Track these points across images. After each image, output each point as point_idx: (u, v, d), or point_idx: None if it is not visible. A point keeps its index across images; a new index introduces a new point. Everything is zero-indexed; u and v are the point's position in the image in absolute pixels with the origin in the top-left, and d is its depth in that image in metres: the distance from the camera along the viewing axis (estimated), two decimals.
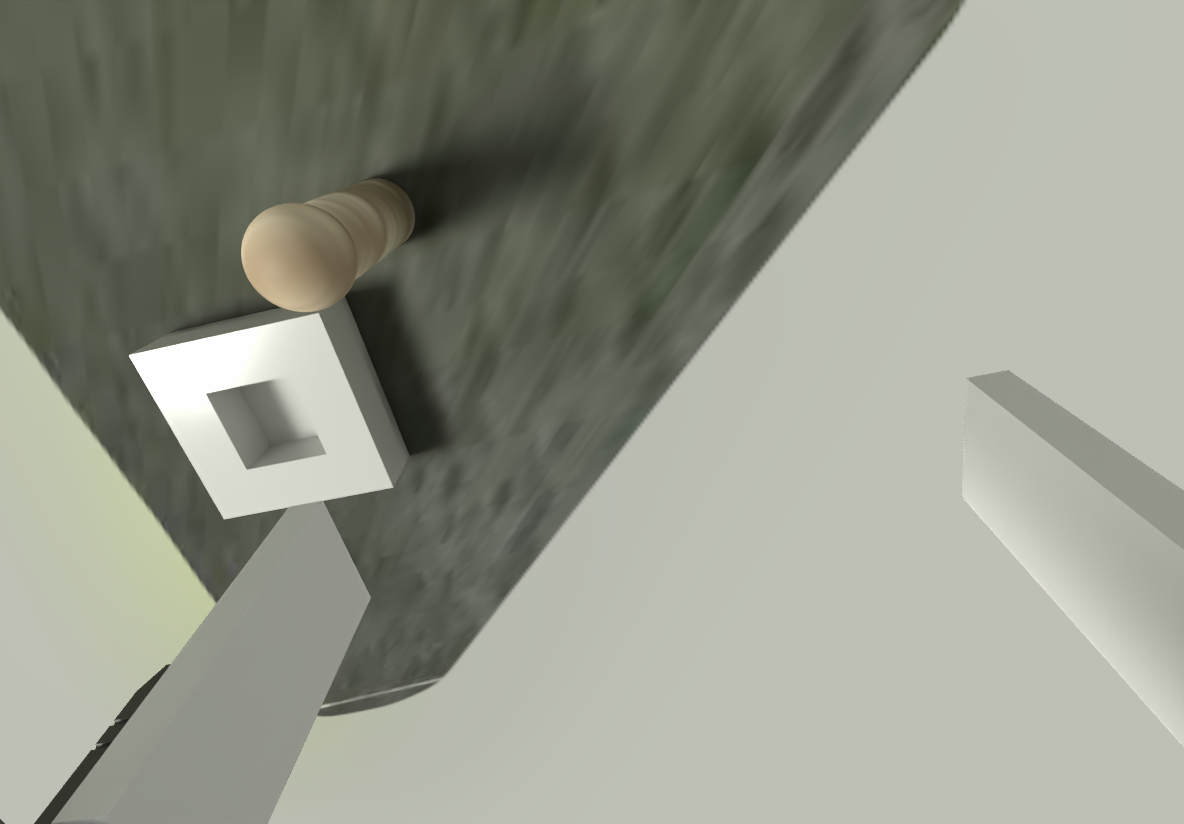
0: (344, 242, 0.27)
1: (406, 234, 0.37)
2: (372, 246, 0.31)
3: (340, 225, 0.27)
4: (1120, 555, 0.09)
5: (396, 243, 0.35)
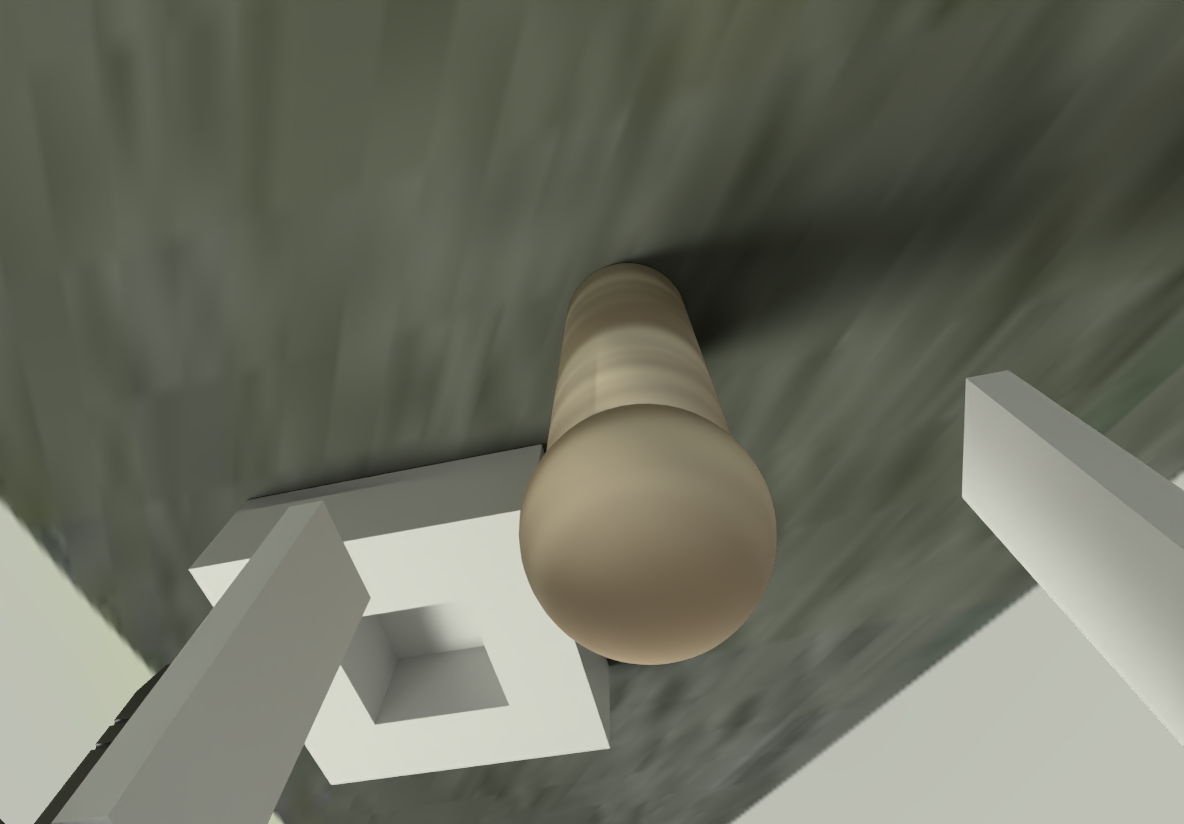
0: (773, 508, 0.11)
1: None
2: None
3: (751, 459, 0.11)
4: (1120, 555, 0.09)
5: None
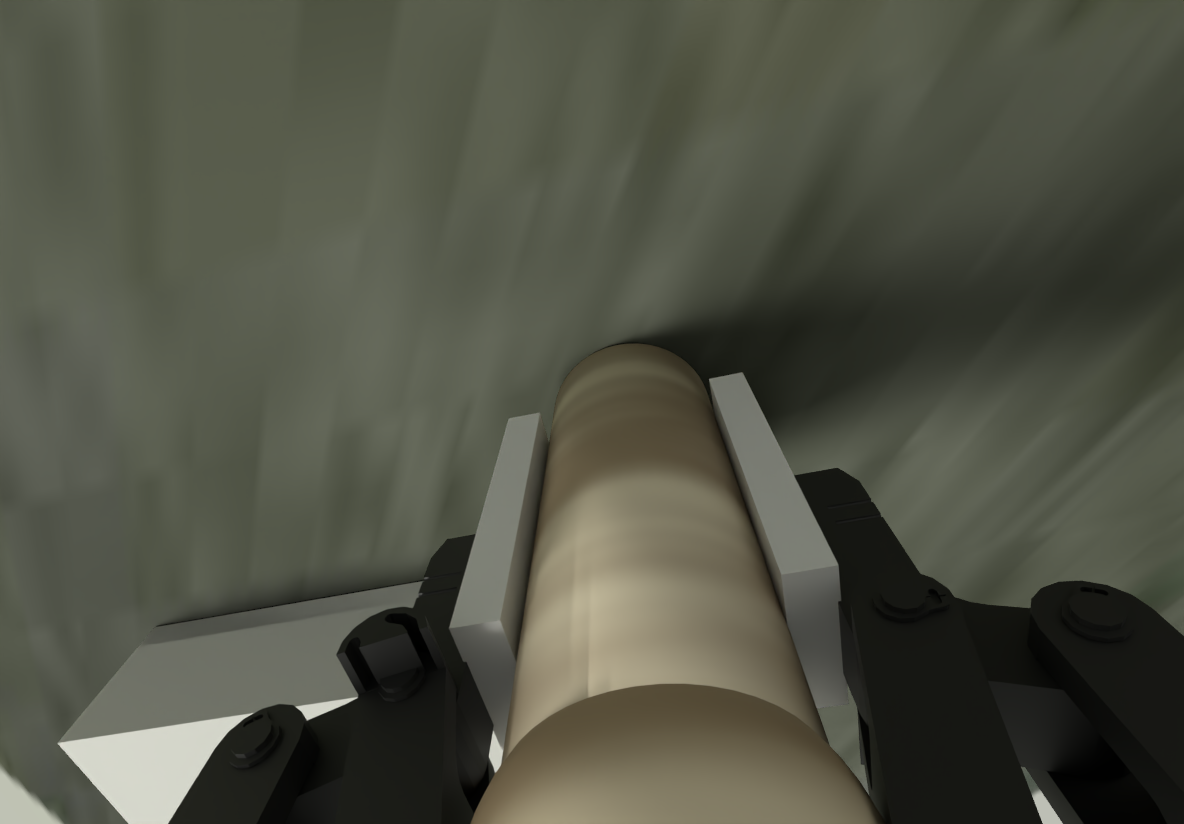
0: None
1: None
2: None
3: (873, 808, 0.06)
4: (751, 517, 0.11)
5: None
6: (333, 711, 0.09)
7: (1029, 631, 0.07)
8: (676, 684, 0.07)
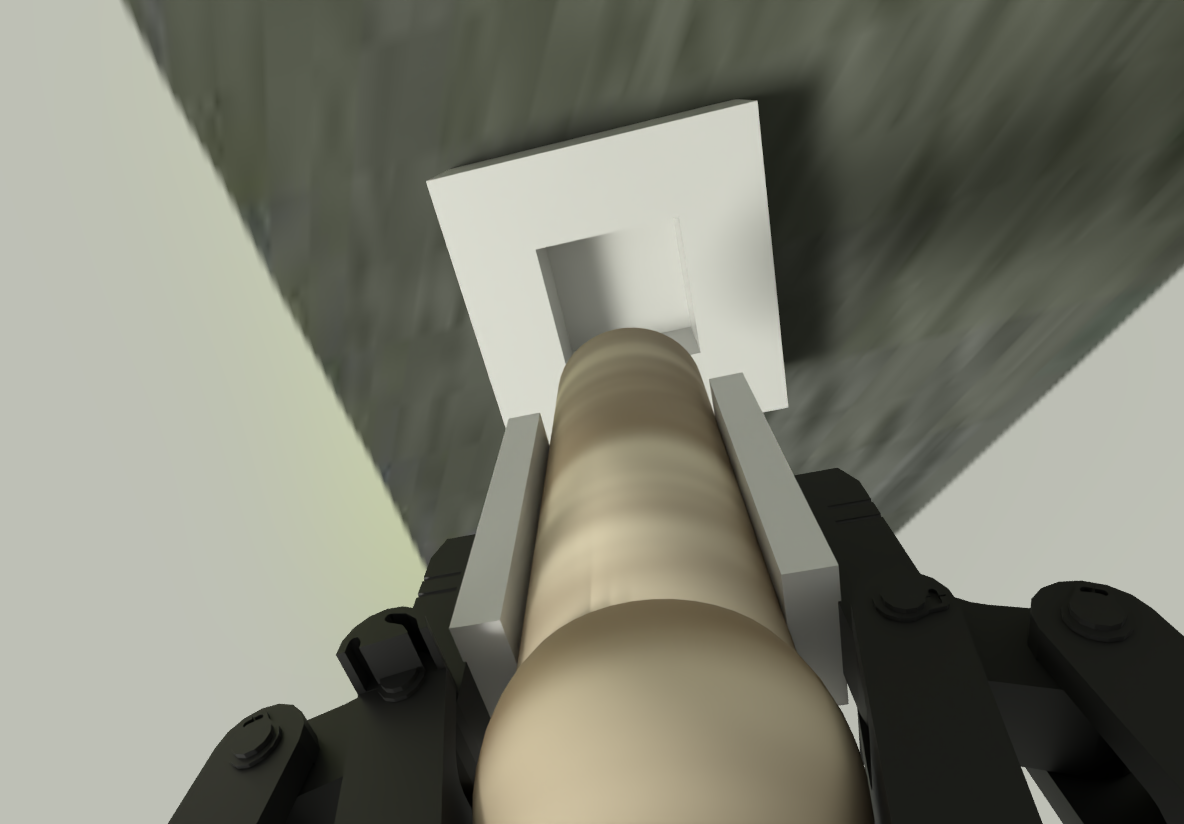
0: None
1: None
2: None
3: (831, 697, 0.07)
4: (751, 517, 0.11)
5: None
6: (332, 710, 0.09)
7: (1029, 631, 0.07)
8: (665, 599, 0.08)
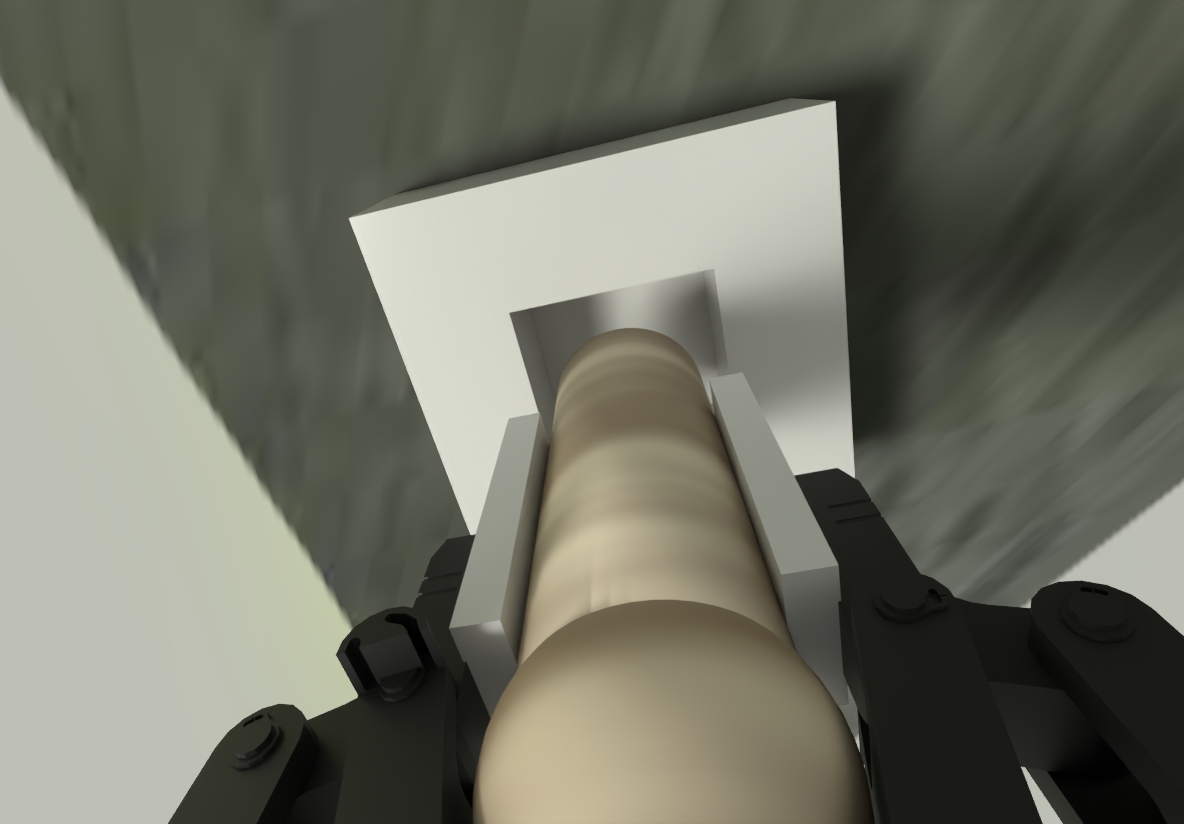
0: None
1: None
2: None
3: (831, 698, 0.07)
4: (751, 517, 0.11)
5: None
6: (333, 710, 0.09)
7: (1029, 631, 0.07)
8: (666, 599, 0.08)
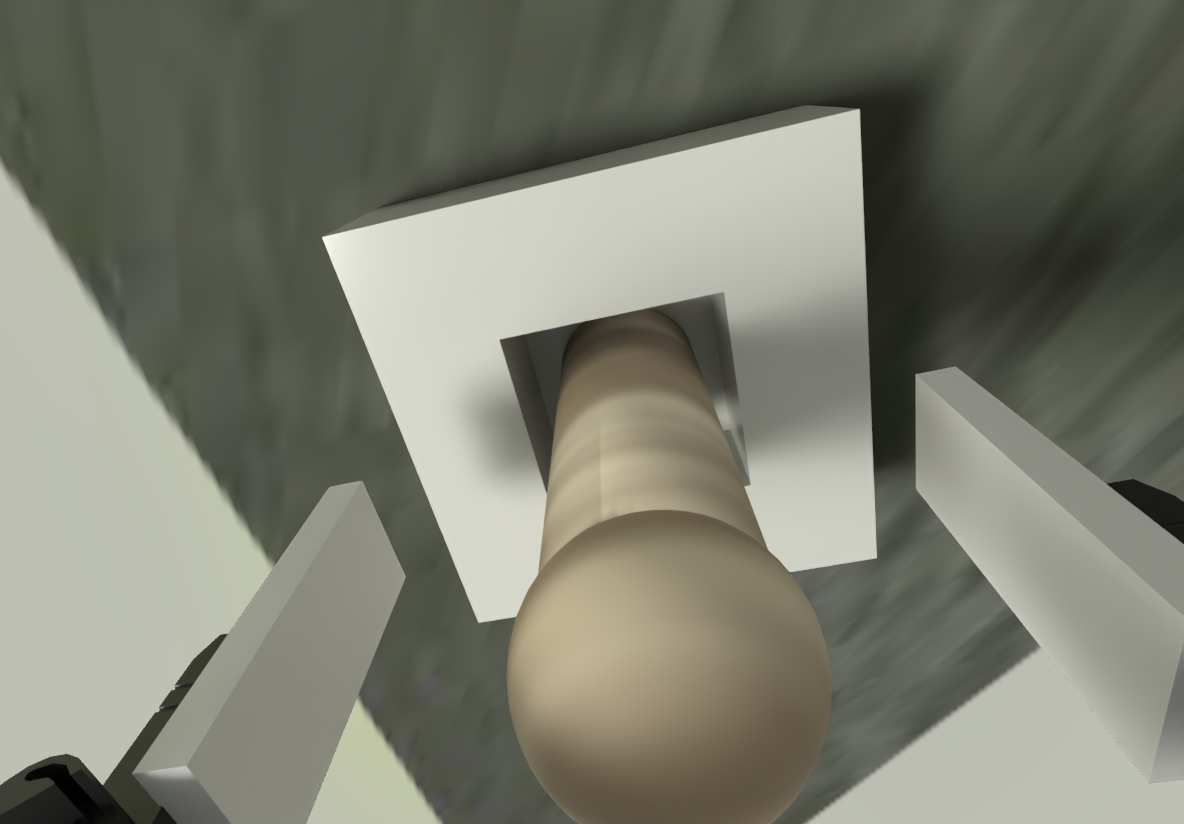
0: None
1: None
2: None
3: (797, 584, 0.09)
4: (1042, 539, 0.09)
5: None
6: None
7: None
8: (663, 509, 0.10)
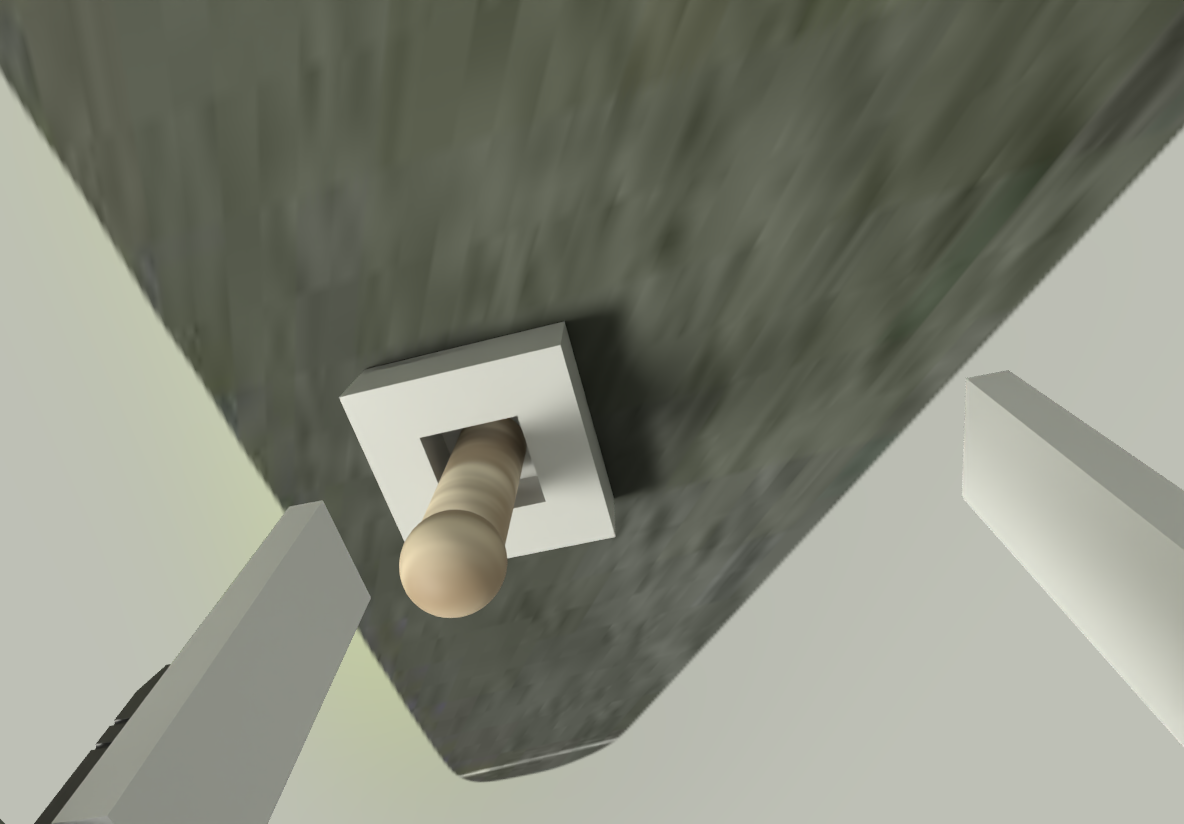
0: (500, 553, 0.27)
1: None
2: (509, 522, 0.31)
3: (494, 532, 0.28)
4: (1120, 555, 0.09)
5: None
6: None
7: None
8: (453, 509, 0.28)
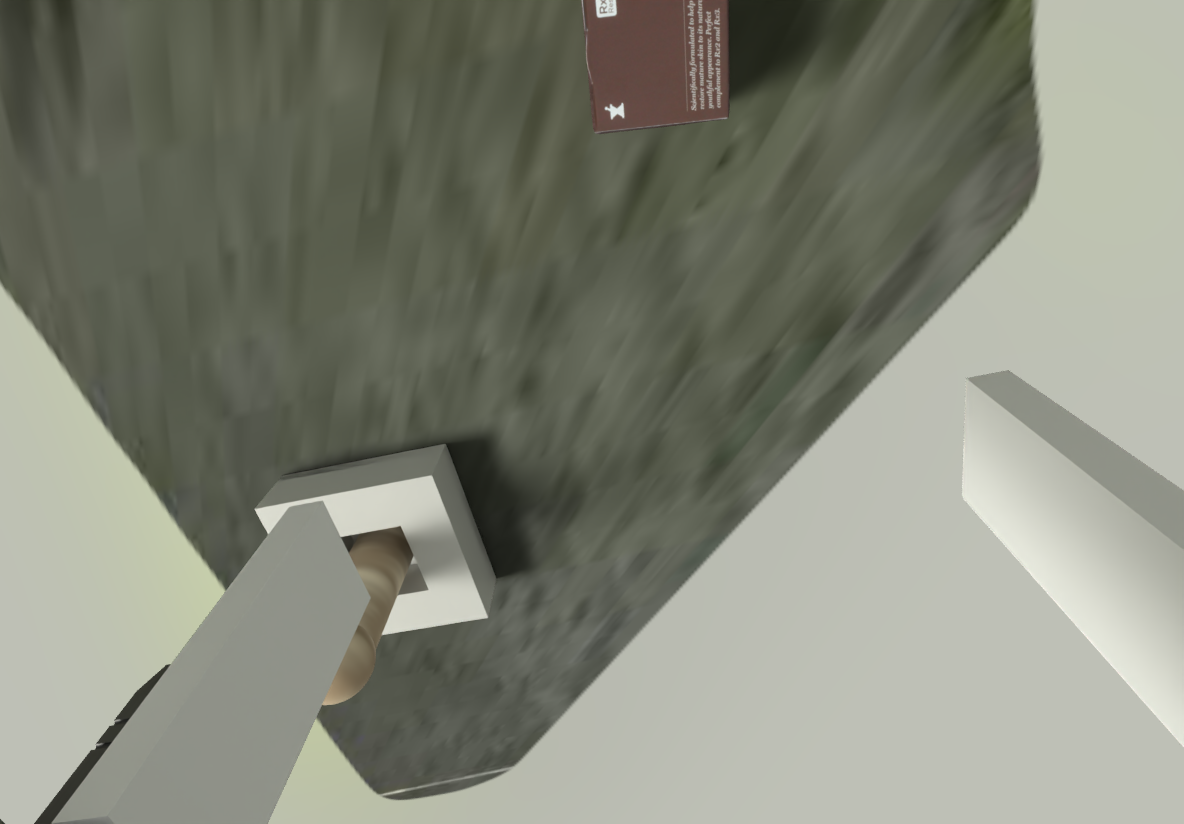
0: (366, 655, 0.35)
1: None
2: (385, 619, 0.39)
3: (362, 638, 0.36)
4: (1120, 555, 0.09)
5: None
6: None
7: None
8: None
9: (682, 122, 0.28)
